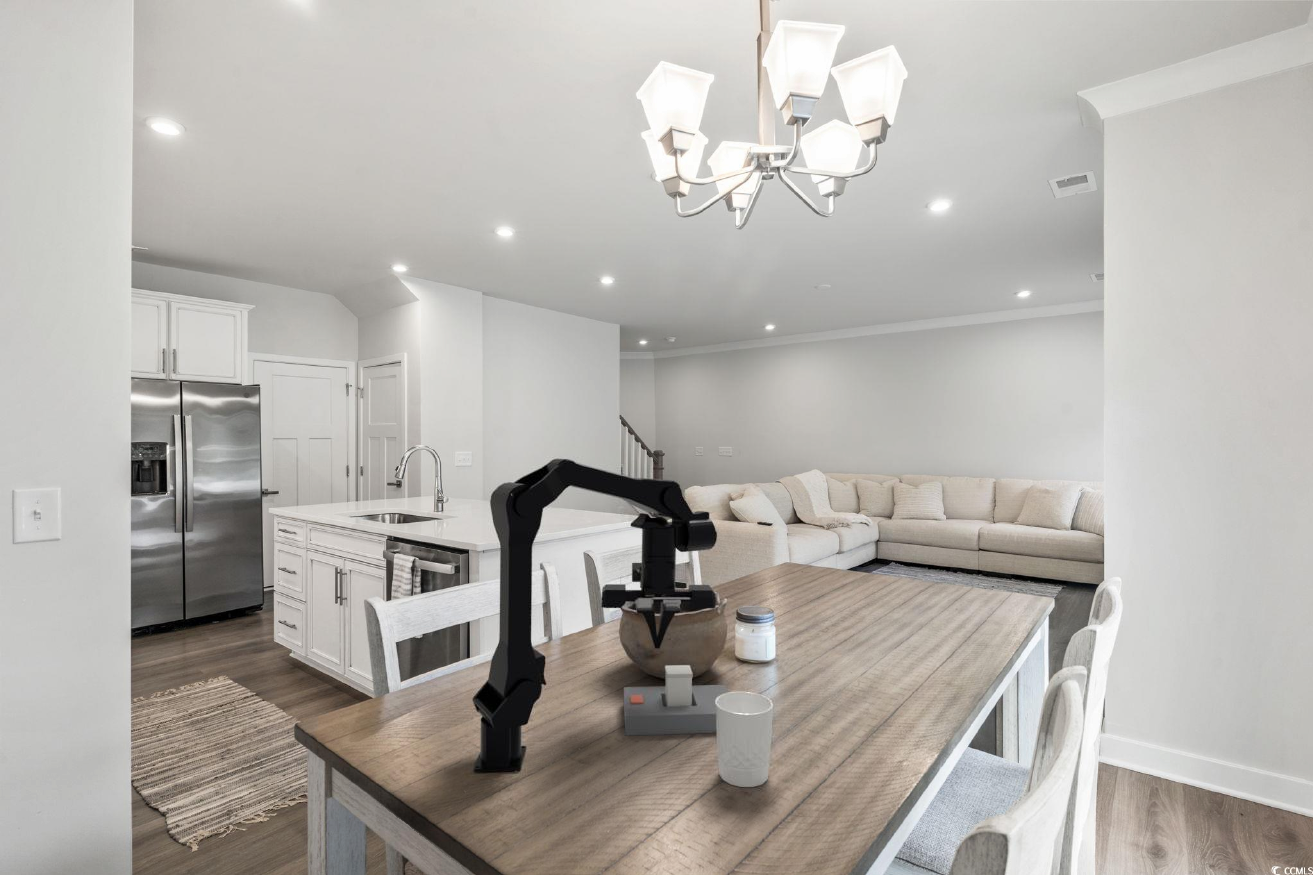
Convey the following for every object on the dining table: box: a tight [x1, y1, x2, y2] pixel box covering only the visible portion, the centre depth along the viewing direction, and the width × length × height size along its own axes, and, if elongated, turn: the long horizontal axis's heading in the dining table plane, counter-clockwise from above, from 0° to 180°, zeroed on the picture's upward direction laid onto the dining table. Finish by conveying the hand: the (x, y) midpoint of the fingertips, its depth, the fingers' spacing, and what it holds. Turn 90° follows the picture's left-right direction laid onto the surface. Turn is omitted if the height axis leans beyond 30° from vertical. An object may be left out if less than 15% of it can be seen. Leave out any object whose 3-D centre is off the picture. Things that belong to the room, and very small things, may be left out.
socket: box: [623, 684, 730, 736], centre depth 106 cm, size 12×18×3 cm, turn 94°
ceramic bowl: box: [618, 587, 728, 680], centre depth 128 cm, size 22×22×15 cm
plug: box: [665, 665, 694, 707], centre depth 107 cm, size 4×4×8 cm
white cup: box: [715, 691, 774, 788], centre depth 88 cm, size 8×8×10 cm
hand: (657, 647), depth 107 cm, fingers closed
